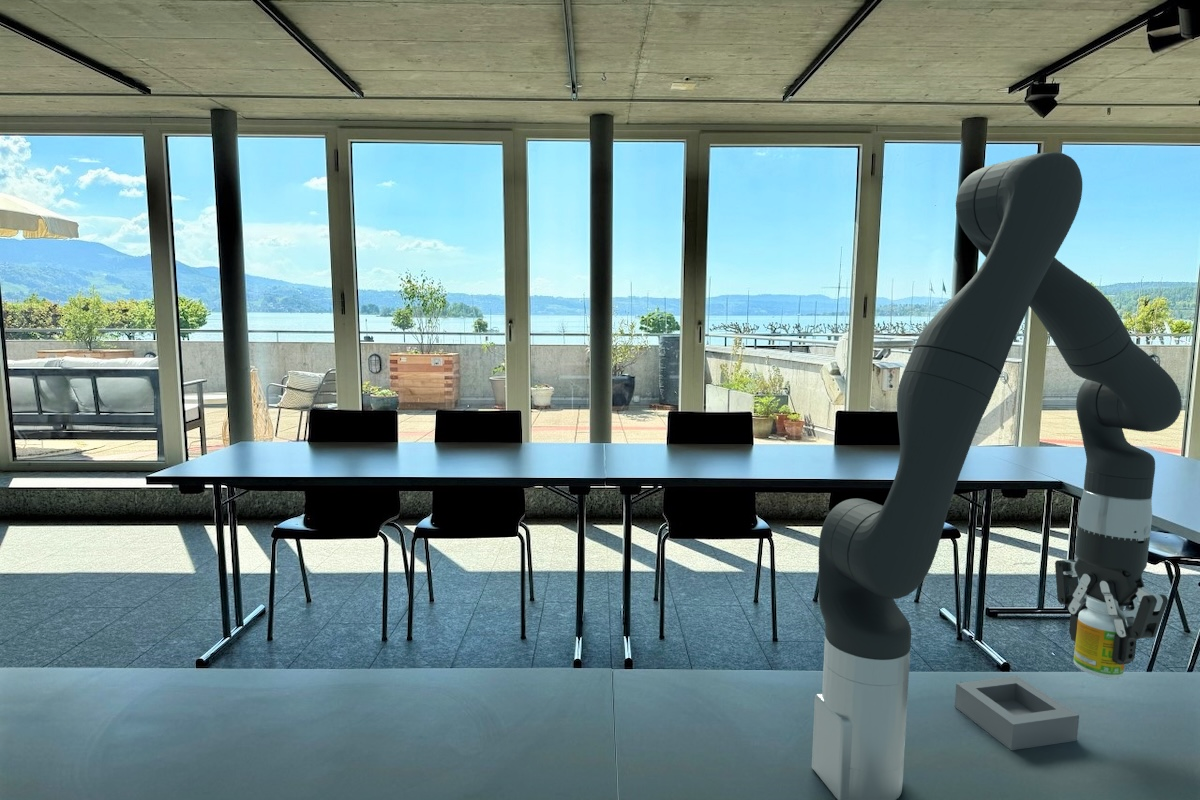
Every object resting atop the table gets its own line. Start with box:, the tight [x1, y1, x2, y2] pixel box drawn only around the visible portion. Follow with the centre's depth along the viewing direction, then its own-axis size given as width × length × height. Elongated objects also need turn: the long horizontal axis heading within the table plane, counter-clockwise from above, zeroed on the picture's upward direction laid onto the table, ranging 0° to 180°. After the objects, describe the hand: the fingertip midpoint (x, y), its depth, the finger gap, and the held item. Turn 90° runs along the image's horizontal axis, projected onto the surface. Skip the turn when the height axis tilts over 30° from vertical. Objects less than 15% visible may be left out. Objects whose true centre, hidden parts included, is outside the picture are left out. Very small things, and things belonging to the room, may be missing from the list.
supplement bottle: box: [1073, 595, 1128, 680], centre depth 89 cm, size 5×5×10 cm
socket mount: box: [954, 675, 1080, 751], centre depth 92 cm, size 10×10×4 cm
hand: (1099, 651), depth 90 cm, fingers closed on supplement bottle, 5 cm apart
